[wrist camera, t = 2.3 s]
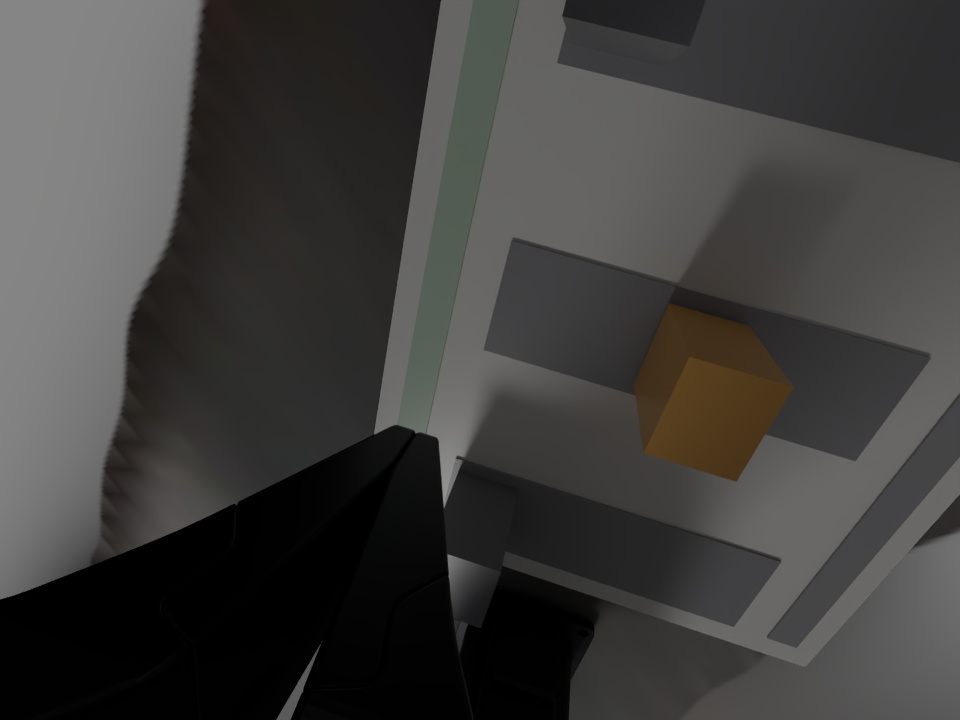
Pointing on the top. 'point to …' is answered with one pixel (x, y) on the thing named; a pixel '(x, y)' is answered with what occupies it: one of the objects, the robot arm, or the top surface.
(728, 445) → the orange block
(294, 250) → the top surface
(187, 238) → the top surface
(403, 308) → the panel
